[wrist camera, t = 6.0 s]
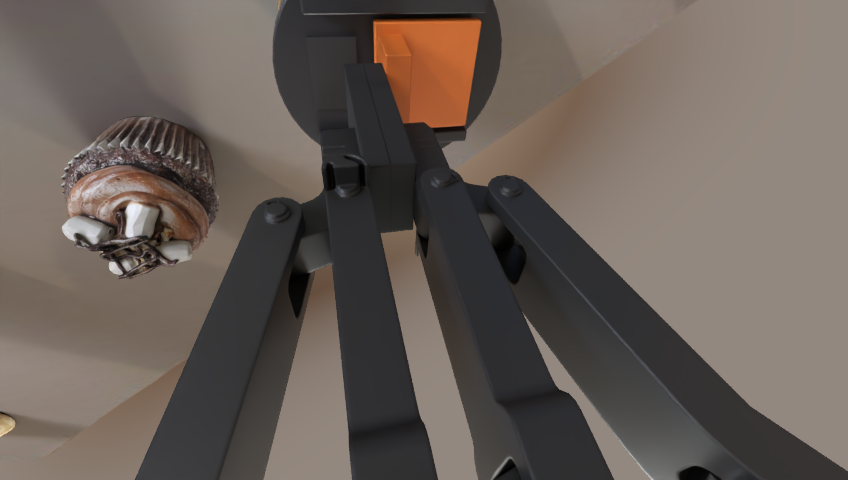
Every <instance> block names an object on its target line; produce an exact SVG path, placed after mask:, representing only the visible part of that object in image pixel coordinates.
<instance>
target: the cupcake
mask: <svg viewBox="0 0 848 480" xmlns="http://www.w3.org/2000/svg"><path fill="white" fill-rule="evenodd" d="M73 158H74V159H72V160H71V161H70V162H68V163H67V164H68V166H67V167H66V168H65V169H64V171H65V172H66V174H65V175H63V176H62V177H61V179H63V180H65V182H64V183H63V184H62V185H61V186H62V187H64V192H63V193H65V199H66V202H67V210H68V216H69V218H70V219H69V220H68V221H67V222H66V223H65V224H64V225H63V226H62V231H63V232H64V234H65V236H66V237H67V238H69V239H71V240H73V241H75V242H76V243H75V244H74V245H75V246H76V247H77V248H80V249H84V250H90V251H99V252H100V253H101V254H100V256H101V258H103V259H105V260H108V261H110V263H109V269H110V270H111V272H112V273H114V274H118V276H117V278H118V279H121V278H129V279H131V278H134V277H136V276H139V275H142V274H145V273H148V272H150V271H151V270H153V269H155V268H156V267H159V266H174V265H175V264H176V263H179V262H183V261H188V260H191V257H192V251H194V250H196V249H197V248H198V247H199V246H200V245H201V243H202V242H204V239H205V238H207V234H208V229H209V228H210V224H212V223H213V222H214V220H215V218H216V211H218V205H219V203H218V198H219V195H218V192H217V188H216V183H215V177H214V167H213V162H212V159H211V156H210V152H209V150H208V149H207V148H206V147H205V146H204V145H203V143H202V142H201V140H200V139H199V138H198V137H197V136H196V135H194V134H193V133H192V132H190V131H188V130H187V129H185V128H183V127H182V126H180V125H178V124H175V123H172V122H169V121H167V120H164V119H158V118H154V117H129V118H125V119H122V120H119V121H117V122H115V123H114V124H113V125H111V126H110V127H109V128H107V129H106V130H105V131H104V132H103V133H102V134H101V135H100V136H99V137H98V138H97V139H96V140H95V141H94V142H93V143H91V144H90V145H88V146H87V147H86V148H84V149H83V150H82V151H81V152H80V153H79V154H77V155H76V156H75V157H73ZM139 270H140V271H139Z"/></svg>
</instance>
